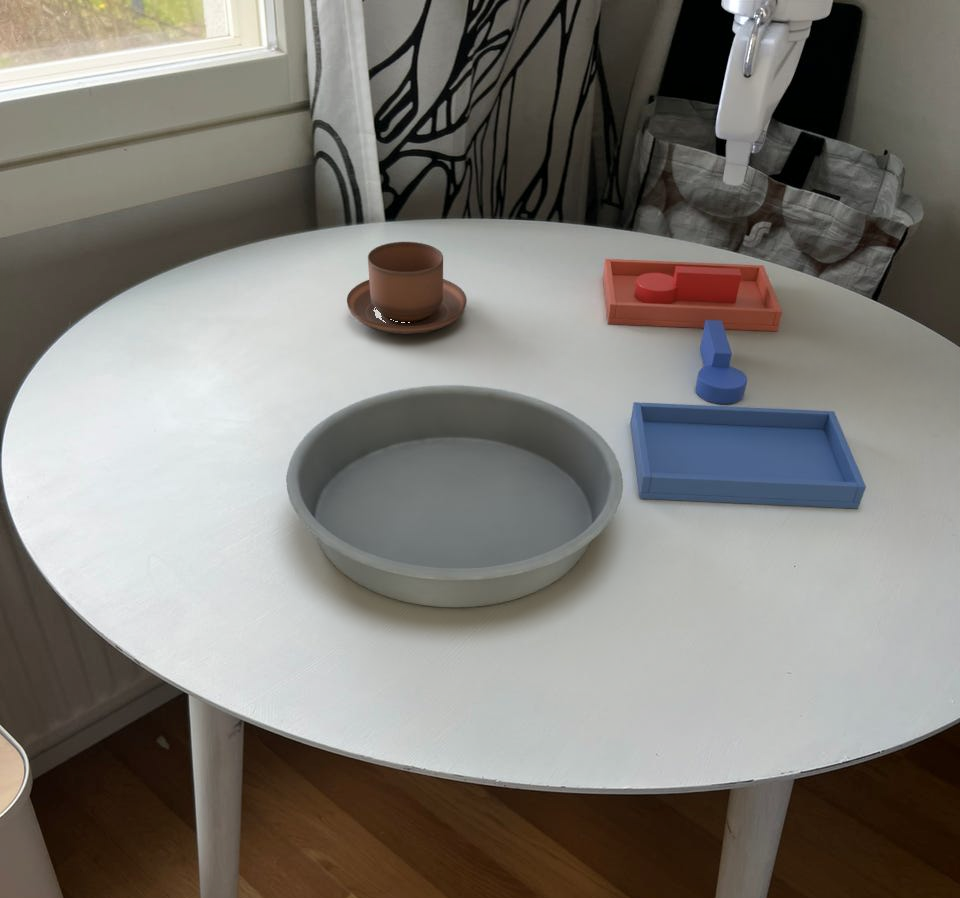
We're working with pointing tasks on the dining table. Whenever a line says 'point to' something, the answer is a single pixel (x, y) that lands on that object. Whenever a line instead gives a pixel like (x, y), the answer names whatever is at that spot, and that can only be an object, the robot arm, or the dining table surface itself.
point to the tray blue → (743, 456)
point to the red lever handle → (689, 285)
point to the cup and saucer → (406, 290)
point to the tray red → (748, 313)
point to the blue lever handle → (718, 368)
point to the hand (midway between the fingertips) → (743, 166)
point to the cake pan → (454, 493)
